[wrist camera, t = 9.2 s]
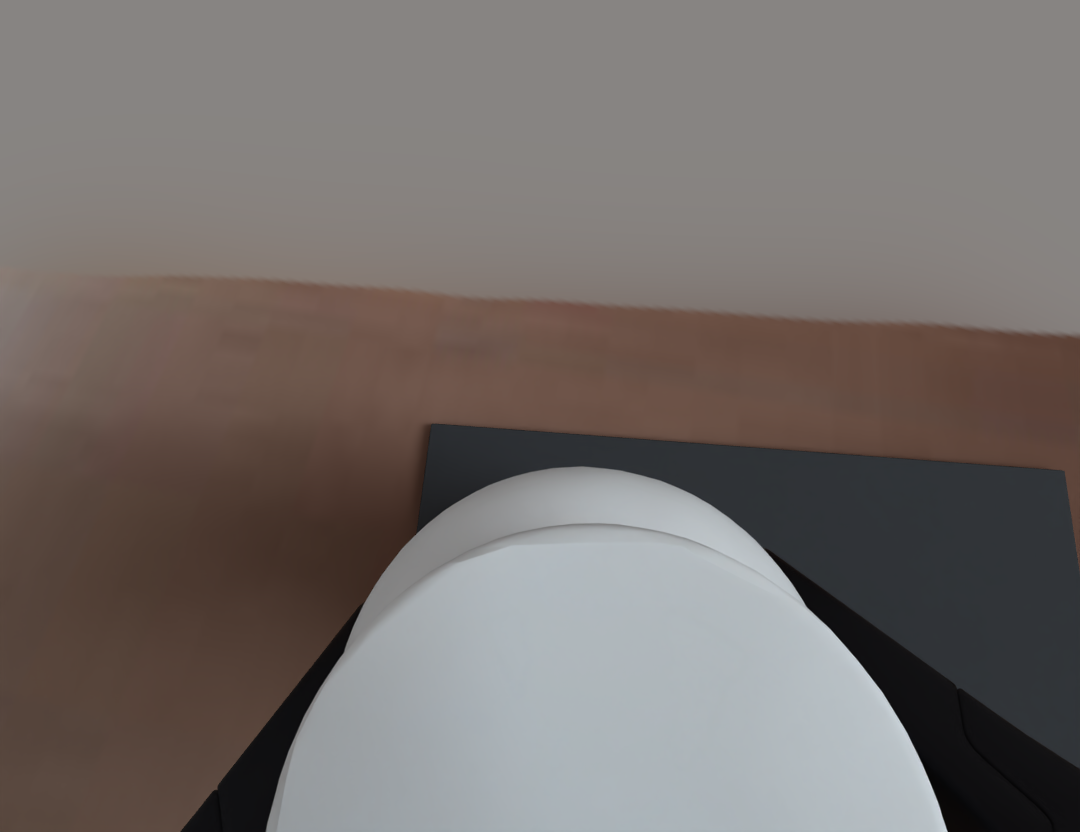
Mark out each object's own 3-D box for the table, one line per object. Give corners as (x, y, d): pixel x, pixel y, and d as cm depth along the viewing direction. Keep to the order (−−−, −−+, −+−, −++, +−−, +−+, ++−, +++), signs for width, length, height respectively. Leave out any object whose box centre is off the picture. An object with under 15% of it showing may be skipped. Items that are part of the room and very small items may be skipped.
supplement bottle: (508, 479, 17) (367, 284, 5) (709, 554, 16) (1200, 564, 4) (425, 693, 16) (-119, 1261, 3) (641, 787, 15) (1078, 2059, 2)
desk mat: (1056, 471, 17) (1064, 470, 16) (1122, 925, 14) (1134, 933, 14) (433, 425, 18) (431, 423, 18) (377, 836, 15) (374, 842, 15)
